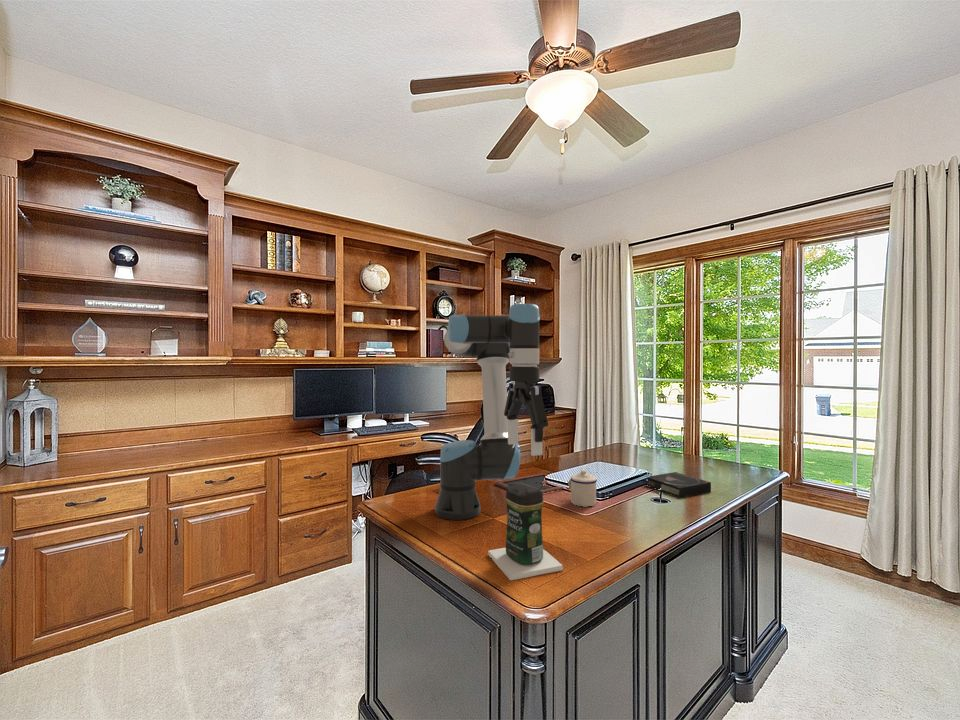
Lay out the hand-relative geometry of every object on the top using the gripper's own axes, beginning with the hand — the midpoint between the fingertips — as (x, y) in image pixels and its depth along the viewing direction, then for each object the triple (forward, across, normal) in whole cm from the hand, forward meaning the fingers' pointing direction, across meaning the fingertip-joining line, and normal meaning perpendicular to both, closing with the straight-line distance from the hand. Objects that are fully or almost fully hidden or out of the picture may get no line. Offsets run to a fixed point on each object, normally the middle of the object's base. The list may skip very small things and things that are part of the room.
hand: (524, 449), depth 112 cm
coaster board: (+29, 0, 0) cm, 29 cm away
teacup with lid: (+29, -34, +39) cm, 59 cm away
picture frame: (+30, -57, +32) cm, 72 cm away
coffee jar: (+28, 0, 0) cm, 28 cm away
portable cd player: (+29, -34, +83) cm, 94 cm away
